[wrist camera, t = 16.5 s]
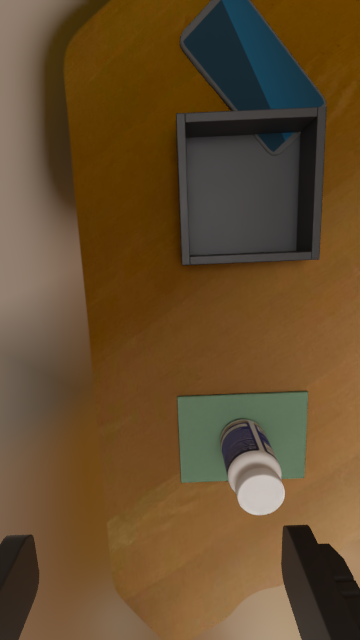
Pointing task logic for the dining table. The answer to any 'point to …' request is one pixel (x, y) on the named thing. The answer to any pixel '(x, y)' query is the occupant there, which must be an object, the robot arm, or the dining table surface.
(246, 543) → the dining table surface
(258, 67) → the smartphone
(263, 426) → the mat
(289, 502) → the dining table surface
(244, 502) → the pill bottle
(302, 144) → the black box
